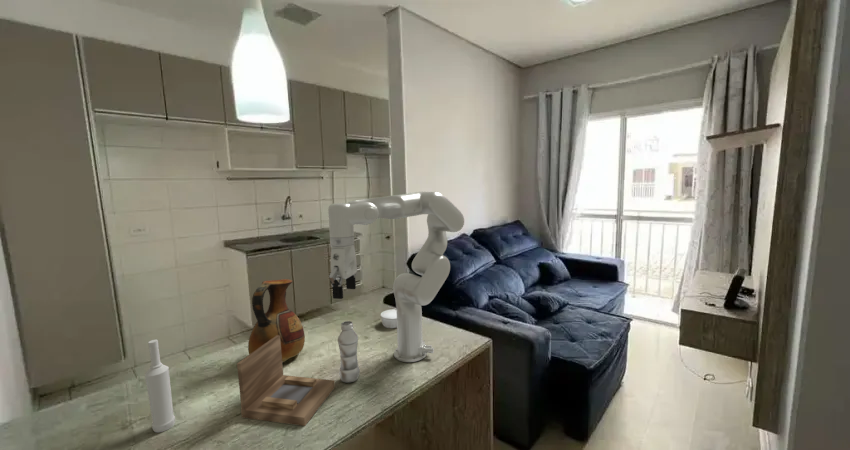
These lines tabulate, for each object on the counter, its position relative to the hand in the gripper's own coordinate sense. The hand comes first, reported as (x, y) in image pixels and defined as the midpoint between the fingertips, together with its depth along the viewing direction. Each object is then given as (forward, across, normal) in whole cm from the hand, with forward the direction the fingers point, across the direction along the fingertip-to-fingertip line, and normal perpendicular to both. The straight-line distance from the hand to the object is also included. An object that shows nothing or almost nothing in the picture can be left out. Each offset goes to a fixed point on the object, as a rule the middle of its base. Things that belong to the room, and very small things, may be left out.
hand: (344, 293), depth 113 cm
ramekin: (+30, +46, -1) cm, 55 cm away
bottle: (+31, -30, +42) cm, 60 cm away
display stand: (+30, -14, +13) cm, 36 cm away
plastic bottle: (+30, 0, 0) cm, 30 cm away
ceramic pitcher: (+31, +10, +34) cm, 47 cm away
